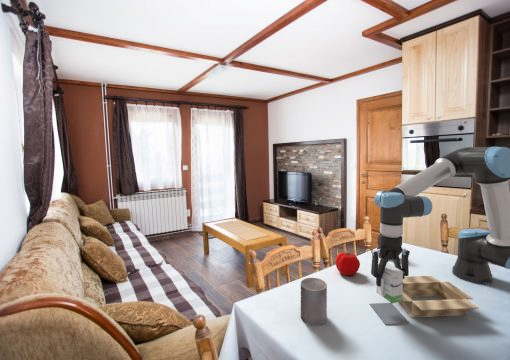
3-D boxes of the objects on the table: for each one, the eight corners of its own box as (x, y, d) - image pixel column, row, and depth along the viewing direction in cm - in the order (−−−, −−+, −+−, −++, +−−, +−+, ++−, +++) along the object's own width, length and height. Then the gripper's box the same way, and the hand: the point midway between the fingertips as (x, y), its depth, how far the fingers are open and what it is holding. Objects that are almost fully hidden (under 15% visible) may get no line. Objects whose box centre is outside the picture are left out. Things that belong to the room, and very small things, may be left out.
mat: (391, 303, 110) (391, 302, 110) (410, 324, 97) (410, 322, 97) (369, 304, 110) (369, 303, 110) (385, 325, 97) (385, 324, 97)
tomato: (331, 274, 137) (331, 253, 136) (340, 266, 146) (340, 246, 145) (354, 281, 130) (355, 258, 128) (363, 272, 138) (363, 251, 137)
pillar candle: (299, 310, 107) (298, 274, 106) (323, 309, 107) (323, 274, 105) (302, 326, 98) (302, 287, 96) (329, 326, 97) (330, 286, 96)
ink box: (403, 301, 99) (404, 271, 98) (391, 304, 98) (393, 273, 97) (386, 290, 108) (386, 261, 106) (375, 292, 106) (376, 263, 105)
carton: (437, 288, 121) (438, 275, 120) (486, 323, 97) (487, 307, 96) (379, 290, 120) (379, 277, 120) (413, 326, 96) (413, 310, 95)
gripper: (409, 230, 104) (407, 287, 107) (361, 232, 104) (360, 289, 106) (422, 236, 97) (419, 298, 99) (370, 238, 96) (368, 299, 99)
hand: (388, 293), depth 103 cm, fingers closed on ink box, 6 cm apart
